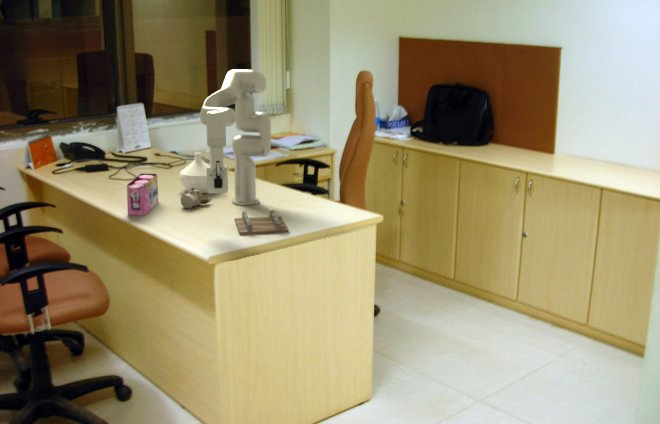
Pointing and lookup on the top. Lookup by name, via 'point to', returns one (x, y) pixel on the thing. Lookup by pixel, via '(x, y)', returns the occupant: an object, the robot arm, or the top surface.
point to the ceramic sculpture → (193, 199)
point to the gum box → (142, 194)
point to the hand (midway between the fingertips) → (217, 185)
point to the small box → (211, 180)
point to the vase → (195, 175)
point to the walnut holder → (260, 224)
